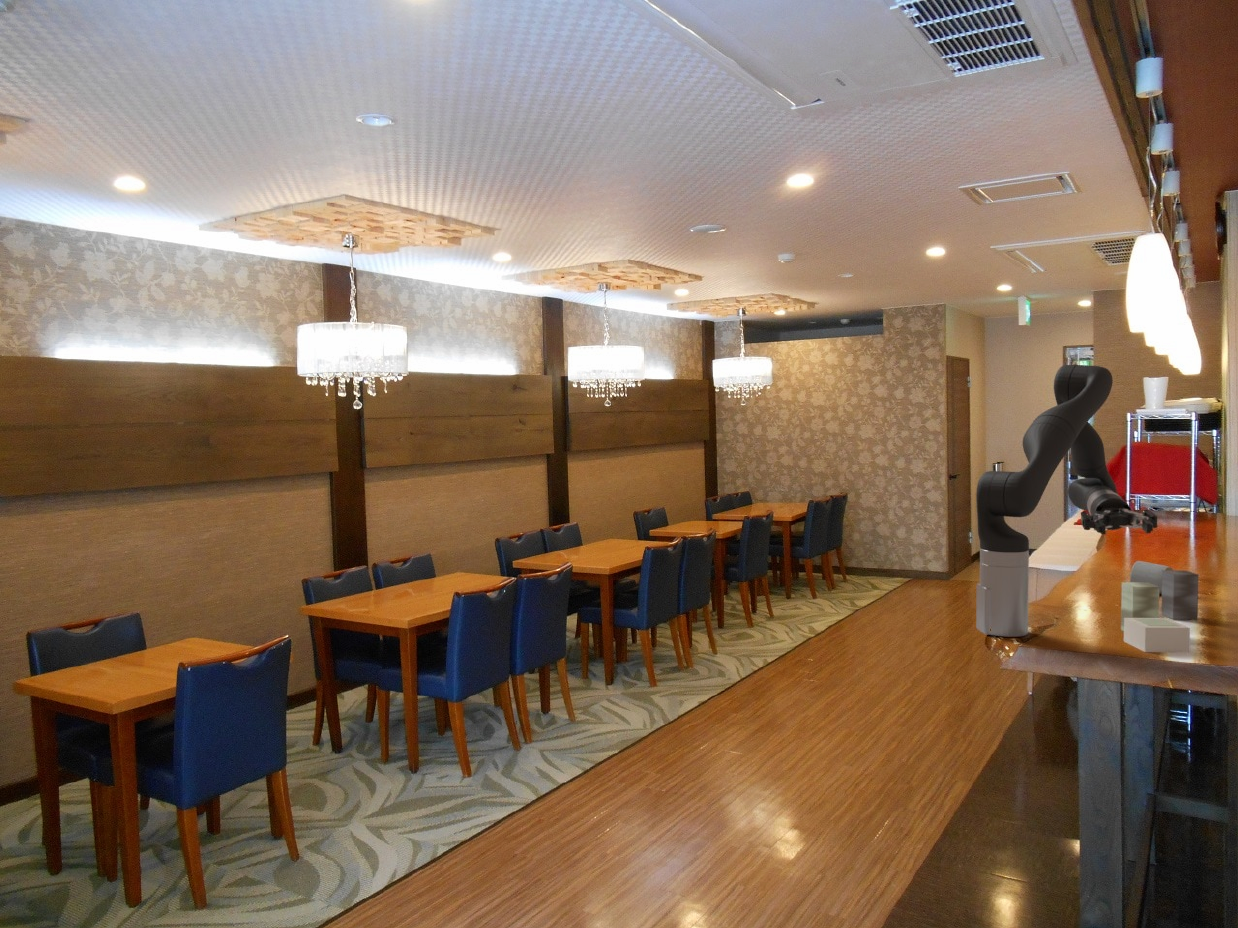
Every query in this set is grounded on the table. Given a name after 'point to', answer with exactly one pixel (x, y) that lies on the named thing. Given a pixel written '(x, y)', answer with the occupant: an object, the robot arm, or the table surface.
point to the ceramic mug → (1148, 573)
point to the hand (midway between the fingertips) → (1126, 529)
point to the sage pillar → (1139, 601)
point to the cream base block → (1156, 635)
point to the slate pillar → (1179, 595)
